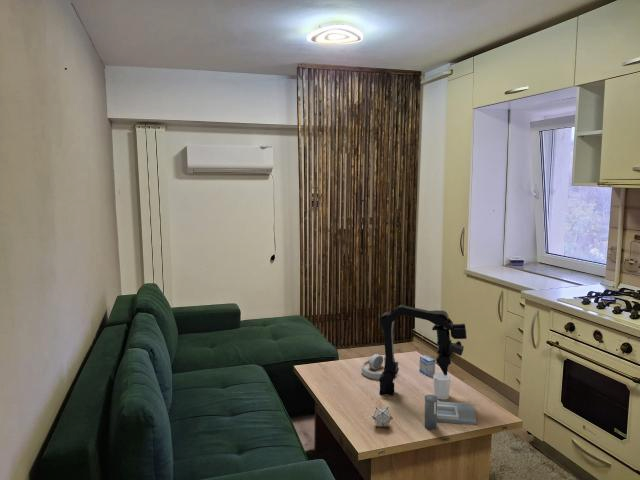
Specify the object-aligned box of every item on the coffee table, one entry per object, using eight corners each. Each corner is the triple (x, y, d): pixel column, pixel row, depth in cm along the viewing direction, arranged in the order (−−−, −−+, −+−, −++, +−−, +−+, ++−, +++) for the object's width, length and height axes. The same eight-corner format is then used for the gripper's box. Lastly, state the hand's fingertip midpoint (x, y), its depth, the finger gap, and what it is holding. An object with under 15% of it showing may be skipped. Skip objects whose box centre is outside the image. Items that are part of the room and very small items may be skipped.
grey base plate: (432, 420, 201) (432, 415, 201) (431, 403, 217) (431, 397, 217) (476, 424, 198) (476, 418, 198) (472, 406, 213) (472, 400, 213)
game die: (384, 437, 196) (386, 426, 189) (367, 425, 200) (368, 414, 193) (395, 420, 201) (397, 409, 194) (378, 409, 205) (379, 398, 198)
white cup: (450, 400, 219) (451, 380, 218) (433, 399, 221) (433, 379, 219) (449, 393, 227) (449, 373, 226) (432, 392, 228) (433, 372, 227)
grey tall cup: (421, 425, 198) (422, 396, 196) (431, 422, 200) (432, 393, 198) (429, 431, 193) (430, 401, 192) (439, 428, 195) (440, 398, 194)
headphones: (368, 362, 265) (357, 381, 248) (368, 349, 263) (357, 367, 246) (401, 366, 258) (392, 386, 240) (400, 354, 256) (391, 372, 238)
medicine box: (419, 371, 253) (419, 356, 252) (425, 370, 255) (426, 354, 254) (428, 377, 246) (428, 361, 245) (435, 375, 248) (435, 359, 246)
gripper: (461, 345, 205) (463, 380, 207) (462, 332, 223) (465, 363, 224) (434, 345, 209) (437, 379, 210) (438, 332, 226) (441, 363, 228)
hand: (446, 371), depth 218 cm, fingers open, 9 cm apart
